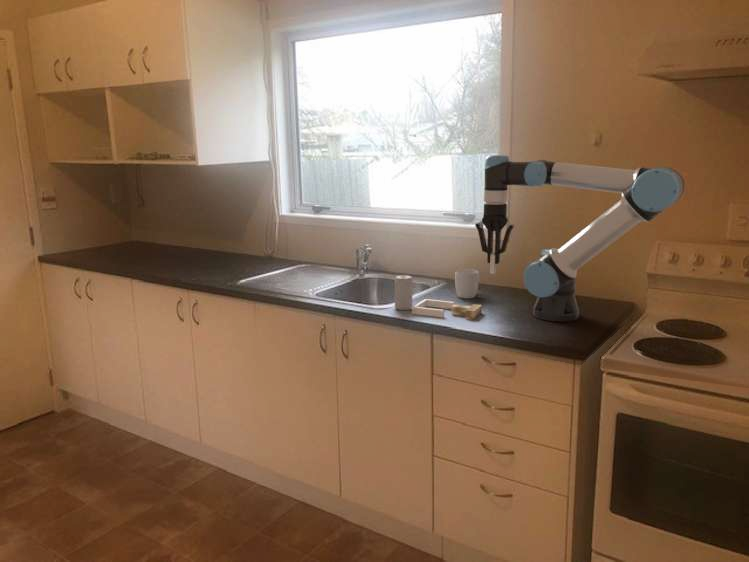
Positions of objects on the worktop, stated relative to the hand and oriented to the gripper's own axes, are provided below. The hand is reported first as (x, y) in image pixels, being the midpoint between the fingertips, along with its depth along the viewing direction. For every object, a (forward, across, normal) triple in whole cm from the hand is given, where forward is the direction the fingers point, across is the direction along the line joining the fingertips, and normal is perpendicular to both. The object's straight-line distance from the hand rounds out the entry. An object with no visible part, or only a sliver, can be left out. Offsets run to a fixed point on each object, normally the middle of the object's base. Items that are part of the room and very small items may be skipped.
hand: (493, 272), depth 210 cm
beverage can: (+16, +32, +1) cm, 36 cm away
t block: (+16, +9, 0) cm, 18 cm away
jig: (+16, +21, 0) cm, 26 cm away
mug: (+16, +16, -27) cm, 35 cm away
